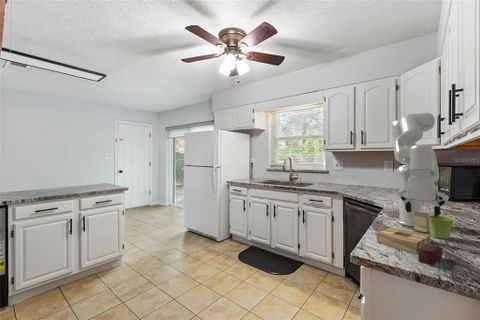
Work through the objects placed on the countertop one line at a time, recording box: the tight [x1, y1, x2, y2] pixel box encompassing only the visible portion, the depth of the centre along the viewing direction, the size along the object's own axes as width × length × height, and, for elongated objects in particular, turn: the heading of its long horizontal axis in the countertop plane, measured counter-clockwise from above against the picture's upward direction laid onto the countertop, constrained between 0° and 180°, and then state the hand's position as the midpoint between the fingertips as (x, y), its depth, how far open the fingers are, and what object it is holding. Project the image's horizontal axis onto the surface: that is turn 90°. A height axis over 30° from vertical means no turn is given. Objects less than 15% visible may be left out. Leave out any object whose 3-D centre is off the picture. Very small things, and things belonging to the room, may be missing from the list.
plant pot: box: [429, 214, 455, 240], centre depth 101 cm, size 9×9×9 cm
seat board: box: [376, 226, 432, 255], centre depth 93 cm, size 14×14×4 cm
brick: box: [417, 243, 443, 266], centre depth 79 cm, size 11×4×5 cm, turn 125°
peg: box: [413, 211, 431, 236], centre depth 97 cm, size 4×4×12 cm
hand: (422, 214), depth 96 cm, fingers open, 9 cm apart
